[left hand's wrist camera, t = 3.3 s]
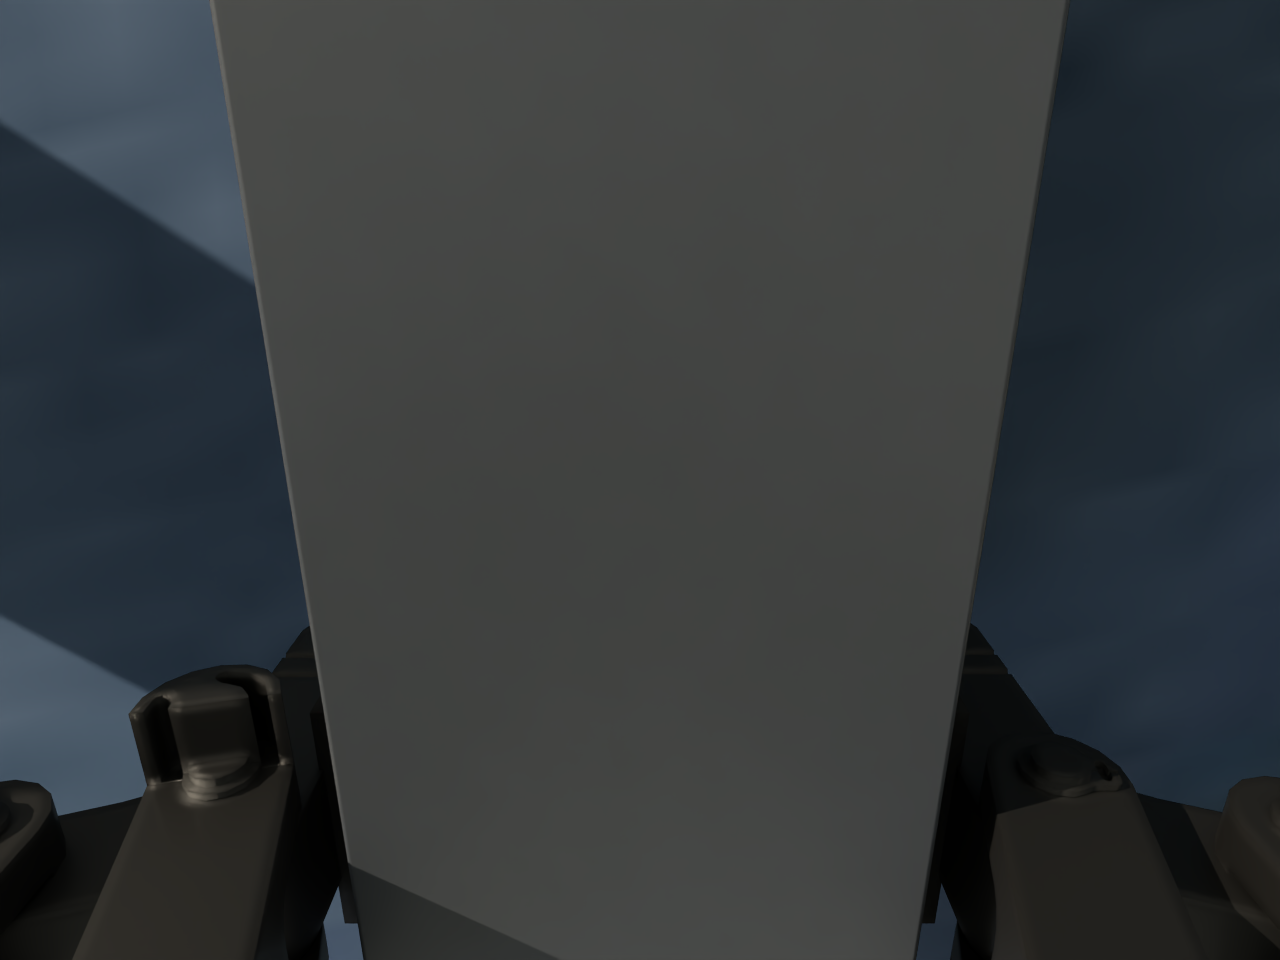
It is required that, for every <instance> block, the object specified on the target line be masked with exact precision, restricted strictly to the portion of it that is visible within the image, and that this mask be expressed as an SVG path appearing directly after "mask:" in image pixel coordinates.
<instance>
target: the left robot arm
mask: <svg viewBox="0 0 1280 960" xmlns="http://www.w3.org/2000/svg"><path fill="white" fill-rule="evenodd" d="M1007 671H1008V669H1007V668H1006V667H1005V665H1004V664H1003V662H1002V661H1001V660H1000V658H999V657H998V656H997V655H994V650H993V649H992V647H991V646H990V645H989V643H988V642H987V640H986V639H985V638H984V636H983V635H982V634H981V632H980V631H979V630H978V628H977V627H975V626H974V625H972V624H971V623H970V627H969V633H968V639H967V645H966V652H965V658H964V664H963V670H962V676H961V683H960V689H959V695H958V701H957V708H956V714H955V720H954V726H953V732H952V739H951V745H950V751H949V757H948V763H947V770H946V776H945V782H944V788H943V795H942V801H941V807H940V813H939V819H938V826H937V832H936V838H935V844H934V850H933V857H932V863H931V869H930V875H929V881H928V888H927V894H926V900H925V906H924V913H923V919H922V923H935V918H936V912H937V906H938V900H939V894H940V888H941V883H942V885H943V887H944V890H945V892H946V895H947V897H948V899H949V902H950V904H951V906H952V909H953V911H954V914H955V916H956V918H957V924H956V929H955V935H954V941H953V946H952V952H951V957H950V960H1280V778H1276V777H1268V776H1262V777H1255V778H1249V779H1242V780H1241V781H1240V782H1238V783H1237V784H1236V785H1235V786H1234V787H1232V788H1231V789H1230V790H1229V793H1228V796H1227V800H1226V803H1225V806H1224V809H1223V812H1218V811H1213V810H1208V809H1204V808H1199V807H1194V806H1190V805H1185V804H1180V803H1176V802H1171V801H1166V800H1162V799H1157V798H1154V797H1150V796H1147V795H1143V794H1139V793H1136V791H1135V788H1134V786H1133V784H1132V783H1131V782H1130V780H1129V779H1128V777H1127V776H1126V775H1125V773H1124V772H1123V770H1122V769H1121V768H1120V767H1119V766H1118V765H1117V764H1115V763H1114V762H1113V761H1112V760H1110V759H1109V758H1108V757H1106V756H1105V755H1104V754H1102V753H1101V752H1100V751H1098V750H1096V749H1094V748H1092V747H1090V746H1087V745H1085V744H1083V743H1081V742H1079V741H1077V740H1074V739H1072V738H1068V737H1064V736H1060V735H1056V734H1054V732H1053V731H1052V730H1051V728H1050V727H1049V726H1048V724H1047V723H1046V721H1045V720H1044V719H1043V717H1042V716H1041V715H1040V713H1039V712H1038V710H1037V709H1036V708H1035V706H1034V705H1033V704H1032V702H1031V701H1030V700H1029V698H1028V697H1027V695H1026V694H1025V693H1024V691H1023V690H1022V689H1021V687H1020V686H1019V684H1018V683H1017V682H1016V680H1015V679H1014V678H1013V676H1012V675H1011V674H1008V672H1007ZM129 718H130V722H131V725H132V729H133V733H134V737H135V741H136V745H137V749H138V752H139V756H140V760H141V764H142V768H143V772H144V775H145V779H146V783H147V788H146V790H145V792H144V795H143V797H139V798H135V799H132V800H128V801H125V802H121V803H116V804H112V805H107V806H102V807H98V808H93V809H88V810H84V811H79V812H75V813H70V814H65V815H61V816H58V815H57V812H56V808H55V805H54V802H53V799H52V796H51V793H50V792H48V791H47V790H46V789H45V788H43V787H42V786H41V785H40V784H39V783H33V782H27V781H20V780H10V781H2V782H0V960H329V955H328V948H327V941H326V935H325V929H324V924H323V921H324V919H325V917H326V914H327V912H328V909H329V907H330V905H331V902H332V900H333V897H334V895H335V893H336V890H337V888H338V885H339V891H340V897H341V903H342V909H343V915H344V921H345V923H358V922H357V915H356V909H355V903H354V897H353V890H352V884H351V878H350V872H349V866H348V859H347V853H346V847H345V841H344V835H343V828H342V822H341V816H340V810H339V803H338V797H337V791H336V785H335V779H334V772H333V766H332V760H331V754H330V747H329V741H328V735H327V729H326V723H325V716H324V710H323V704H322V698H321V691H320V685H319V679H318V673H317V667H316V660H315V654H314V648H313V642H312V635H311V629H310V626H309V627H307V628H306V629H304V630H303V631H302V632H301V633H300V635H299V636H298V638H297V639H296V640H295V642H294V643H293V645H292V646H291V647H290V649H289V650H288V651H287V653H286V658H282V660H281V661H280V662H279V664H278V665H277V667H276V668H275V669H274V671H273V672H272V673H271V672H270V671H269V670H267V669H263V668H259V667H255V666H251V665H220V666H216V667H211V668H207V669H202V670H197V671H193V672H190V673H188V674H185V675H183V676H180V677H178V678H176V679H173V680H171V681H168V682H166V683H164V684H162V685H161V686H159V687H158V688H156V689H155V690H153V691H152V692H150V693H149V694H147V695H146V696H144V697H143V698H142V699H141V700H140V701H139V702H138V704H137V705H136V706H135V707H134V708H133V709H132V711H131V712H130V713H129Z"/></svg>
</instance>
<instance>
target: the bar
mask: <svg viewBox="0 0 1280 960" xmlns="http://www.w3.org/2000/svg"><path fill="white" fill-rule="evenodd" d="M209 1H210V7H211V13H212V20H213V26H214V32H215V38H216V44H217V51H218V57H219V63H220V69H221V76H222V82H223V88H224V94H225V100H226V107H227V113H228V119H229V125H230V132H231V138H232V144H233V150H234V156H235V163H236V169H237V175H238V181H239V188H240V194H241V200H242V206H243V212H244V219H245V225H246V231H247V237H248V244H249V250H250V256H251V262H252V268H253V275H254V281H255V287H256V293H257V299H258V306H259V312H260V318H261V324H262V331H263V337H264V343H265V349H266V355H267V362H268V368H269V374H270V380H271V387H272V393H273V399H274V405H275V411H276V418H277V424H278V430H279V436H280V443H281V449H282V455H283V461H284V467H285V474H286V480H287V486H288V492H289V499H290V505H291V511H292V517H293V523H294V530H295V536H296V542H297V548H298V555H299V561H300V567H301V573H302V579H303V586H304V592H305V598H306V604H307V611H308V617H309V623H310V629H311V635H312V642H313V648H314V654H315V660H316V667H317V673H318V679H319V685H320V691H321V698H322V704H323V710H324V716H325V723H326V729H327V735H328V741H329V747H330V754H331V760H332V766H333V772H334V779H335V785H336V791H337V797H338V803H339V810H340V816H341V822H342V828H343V835H344V841H345V847H346V853H347V859H348V866H349V872H350V878H351V884H352V890H353V897H354V903H355V909H356V915H357V922H358V928H359V934H360V940H361V946H362V953H363V959H364V960H916V956H917V950H918V944H919V937H920V931H921V925H922V919H923V913H924V906H925V900H926V894H927V888H928V881H929V875H930V869H931V863H932V857H933V850H934V844H935V838H936V832H937V826H938V819H939V813H940V807H941V801H942V795H943V788H944V782H945V776H946V770H947V763H948V757H949V751H950V745H951V739H952V732H953V726H954V720H955V714H956V708H957V701H958V695H959V689H960V683H961V676H962V670H963V664H964V658H965V652H966V645H967V639H968V633H969V627H970V621H971V614H972V608H973V602H974V596H975V589H976V583H977V577H978V571H979V565H980V558H981V552H982V546H983V540H984V534H985V527H986V521H987V515H988V509H989V502H990V496H991V490H992V484H993V478H994V471H995V465H996V459H997V453H998V447H999V440H1000V434H1001V428H1002V422H1003V416H1004V409H1005V403H1006V397H1007V391H1008V384H1009V378H1010V372H1011V366H1012V360H1013V353H1014V347H1015V341H1016V335H1017V329H1018V322H1019V316H1020V310H1021V304H1022V297H1023V291H1024V285H1025V279H1026V273H1027V266H1028V260H1029V254H1030V248H1031V242H1032V235H1033V229H1034V223H1035V217H1036V210H1037V204H1038V198H1039V192H1040V186H1041V179H1042V173H1043V167H1044V161H1045V155H1046V148H1047V142H1048V136H1049V130H1050V124H1051V117H1052V111H1053V105H1054V99H1055V92H1056V86H1057V80H1058V74H1059V68H1060V61H1061V55H1062V49H1063V43H1064V37H1065V30H1066V24H1067V18H1068V12H1069V5H1070V0H209Z"/></svg>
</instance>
